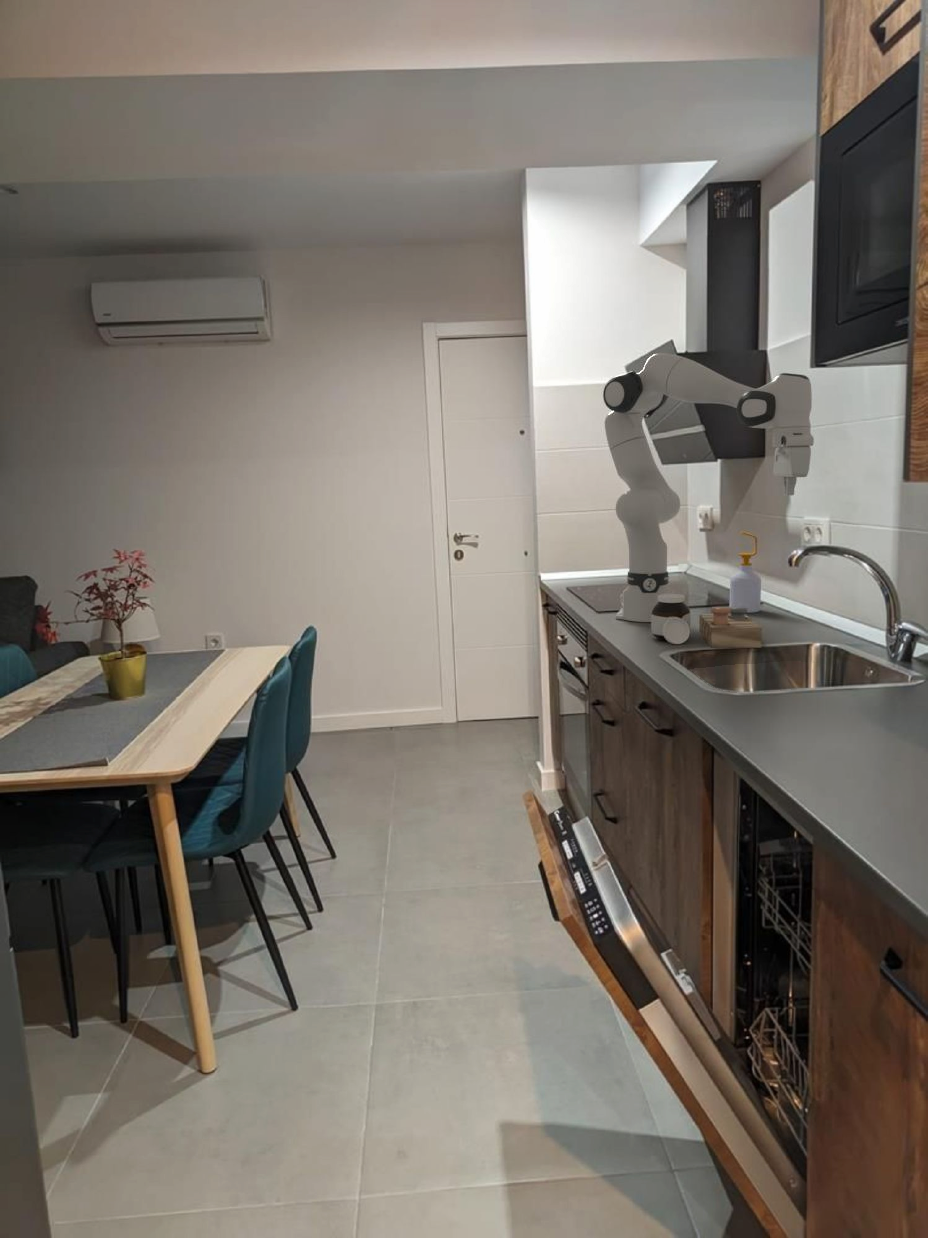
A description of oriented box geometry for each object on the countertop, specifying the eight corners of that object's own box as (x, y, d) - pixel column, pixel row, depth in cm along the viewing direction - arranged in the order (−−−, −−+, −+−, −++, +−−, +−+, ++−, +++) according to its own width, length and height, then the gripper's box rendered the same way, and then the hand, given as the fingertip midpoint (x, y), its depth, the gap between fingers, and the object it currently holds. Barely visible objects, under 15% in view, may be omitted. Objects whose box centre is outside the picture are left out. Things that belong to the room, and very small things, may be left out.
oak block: (699, 632, 232) (699, 614, 231) (744, 631, 230) (744, 613, 229) (711, 647, 212) (712, 628, 211) (761, 647, 211) (761, 627, 210)
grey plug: (726, 632, 228) (726, 606, 227) (744, 631, 227) (745, 606, 226) (729, 635, 223) (730, 609, 222) (748, 635, 223) (749, 609, 221)
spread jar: (672, 634, 230) (673, 592, 228) (705, 640, 221) (706, 596, 219) (641, 640, 223) (641, 597, 221) (673, 647, 214) (674, 601, 212)
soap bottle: (728, 608, 268) (731, 530, 264) (759, 608, 266) (761, 530, 261) (729, 612, 260) (732, 532, 255) (761, 613, 257) (764, 532, 253)
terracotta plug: (709, 633, 219) (709, 606, 218) (728, 633, 219) (728, 606, 218) (712, 636, 215) (712, 609, 214) (731, 636, 214) (732, 609, 213)
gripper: (768, 441, 222) (766, 494, 225) (788, 438, 202) (786, 496, 205) (793, 440, 221) (790, 493, 224) (816, 437, 201) (813, 496, 204)
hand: (788, 495), depth 214 cm, fingers closed
